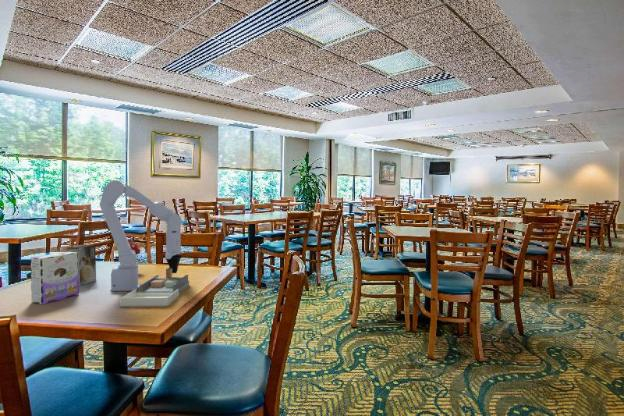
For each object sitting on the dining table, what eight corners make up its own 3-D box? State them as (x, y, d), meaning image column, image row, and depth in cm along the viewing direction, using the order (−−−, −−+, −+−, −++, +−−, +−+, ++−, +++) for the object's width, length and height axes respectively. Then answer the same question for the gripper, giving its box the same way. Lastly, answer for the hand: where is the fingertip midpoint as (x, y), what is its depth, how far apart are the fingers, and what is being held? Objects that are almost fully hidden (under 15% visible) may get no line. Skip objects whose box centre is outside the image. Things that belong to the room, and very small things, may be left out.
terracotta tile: (150, 287, 148) (150, 282, 148) (154, 284, 152) (154, 279, 151) (161, 287, 148) (160, 282, 148) (164, 284, 152) (164, 279, 152)
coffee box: (84, 280, 167) (83, 244, 167) (96, 280, 166) (96, 244, 165) (66, 285, 158) (66, 247, 158) (79, 285, 157) (79, 247, 156)
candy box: (69, 293, 146) (68, 251, 145) (79, 294, 144) (78, 252, 143) (30, 302, 133) (29, 256, 132) (41, 304, 131) (40, 257, 130)
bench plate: (138, 296, 142) (138, 284, 141) (155, 285, 159) (155, 274, 158) (176, 296, 142) (176, 284, 142) (189, 285, 159) (189, 274, 159)
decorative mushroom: (138, 274, 179) (138, 243, 178) (118, 275, 177) (118, 243, 176) (142, 270, 189) (142, 240, 188) (123, 271, 186) (123, 240, 186)
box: (120, 306, 129) (120, 298, 129) (135, 296, 142) (135, 288, 141) (167, 306, 130) (167, 297, 130) (178, 296, 142) (178, 288, 142)
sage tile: (165, 287, 148) (165, 282, 148) (168, 284, 152) (168, 279, 152) (175, 287, 148) (175, 282, 148) (178, 284, 152) (178, 279, 152)
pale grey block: (154, 282, 154) (154, 269, 153) (156, 281, 156) (156, 268, 155) (181, 282, 154) (181, 269, 154) (183, 281, 156) (183, 268, 156)
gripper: (177, 243, 153) (177, 276, 154) (188, 239, 167) (188, 269, 168) (160, 243, 153) (160, 276, 153) (171, 239, 167) (172, 269, 168)
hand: (173, 272), depth 161 cm, fingers closed
